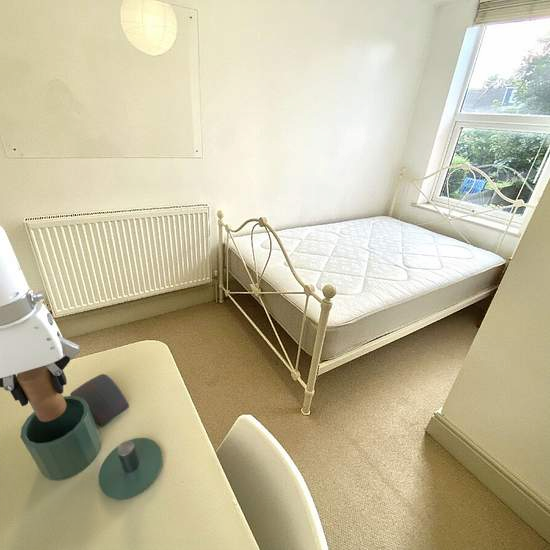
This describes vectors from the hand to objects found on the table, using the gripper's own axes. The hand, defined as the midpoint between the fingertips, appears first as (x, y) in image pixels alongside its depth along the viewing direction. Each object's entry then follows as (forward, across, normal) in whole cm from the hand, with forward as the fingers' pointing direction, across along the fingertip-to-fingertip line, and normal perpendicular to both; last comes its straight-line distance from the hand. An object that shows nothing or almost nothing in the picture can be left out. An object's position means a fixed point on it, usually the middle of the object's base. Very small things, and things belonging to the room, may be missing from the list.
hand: (43, 392), depth 53 cm
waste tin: (+18, 0, 0) cm, 18 cm away
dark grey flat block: (+18, -6, -11) cm, 22 cm away
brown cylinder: (+5, 0, 0) cm, 5 cm away
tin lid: (+17, -10, +9) cm, 22 cm away
